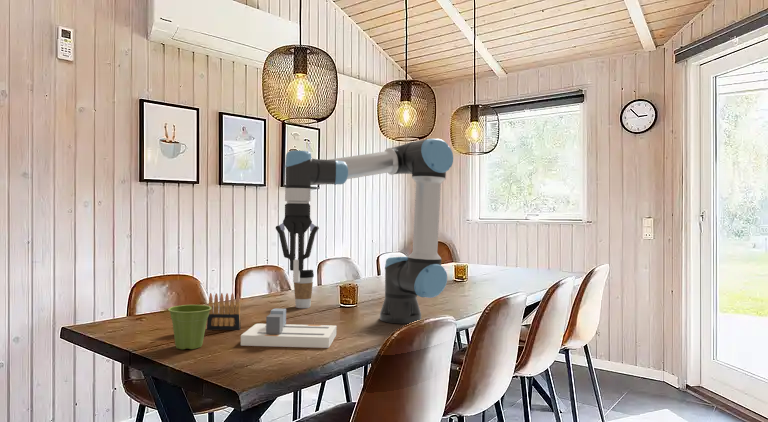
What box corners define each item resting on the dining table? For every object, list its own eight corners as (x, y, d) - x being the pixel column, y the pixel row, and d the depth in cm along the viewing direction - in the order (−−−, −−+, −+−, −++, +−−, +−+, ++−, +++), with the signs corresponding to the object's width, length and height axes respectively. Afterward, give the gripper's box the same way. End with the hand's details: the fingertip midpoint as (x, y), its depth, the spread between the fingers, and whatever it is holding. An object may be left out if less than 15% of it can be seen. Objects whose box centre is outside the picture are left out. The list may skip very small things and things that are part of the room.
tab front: (282, 330, 165) (282, 314, 165) (279, 334, 161) (279, 317, 161) (269, 330, 165) (269, 314, 165) (266, 333, 161) (266, 316, 161)
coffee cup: (309, 309, 216) (309, 271, 216) (289, 308, 218) (289, 270, 218) (316, 305, 225) (316, 269, 225) (296, 304, 226) (297, 268, 226)
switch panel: (336, 334, 174) (336, 325, 174) (328, 347, 158) (328, 337, 158) (256, 332, 176) (256, 323, 176) (240, 345, 160) (240, 334, 160)
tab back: (285, 324, 174) (286, 308, 174) (282, 327, 170) (283, 311, 170) (273, 324, 174) (273, 308, 174) (270, 326, 170) (270, 310, 170)
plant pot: (198, 353, 151) (199, 312, 151) (159, 351, 153) (159, 310, 152) (218, 342, 162) (218, 305, 162) (181, 340, 164) (181, 303, 164)
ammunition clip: (240, 328, 182) (241, 292, 181) (239, 329, 180) (240, 293, 180) (208, 328, 181) (208, 292, 181) (206, 329, 179) (207, 293, 179)
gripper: (321, 203, 166) (320, 280, 167) (278, 202, 167) (277, 279, 167) (317, 203, 159) (316, 283, 159) (273, 202, 159) (271, 282, 160)
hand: (296, 281), depth 163 cm, fingers closed
